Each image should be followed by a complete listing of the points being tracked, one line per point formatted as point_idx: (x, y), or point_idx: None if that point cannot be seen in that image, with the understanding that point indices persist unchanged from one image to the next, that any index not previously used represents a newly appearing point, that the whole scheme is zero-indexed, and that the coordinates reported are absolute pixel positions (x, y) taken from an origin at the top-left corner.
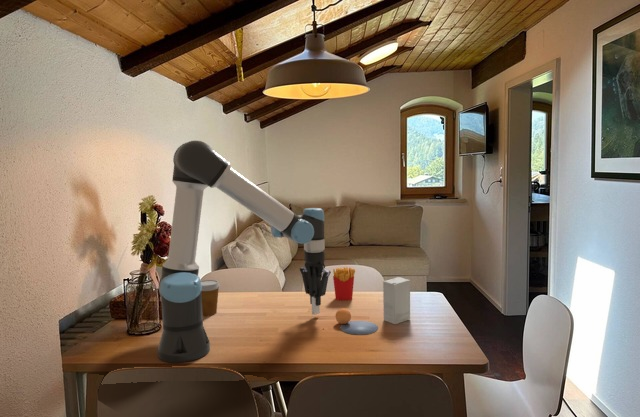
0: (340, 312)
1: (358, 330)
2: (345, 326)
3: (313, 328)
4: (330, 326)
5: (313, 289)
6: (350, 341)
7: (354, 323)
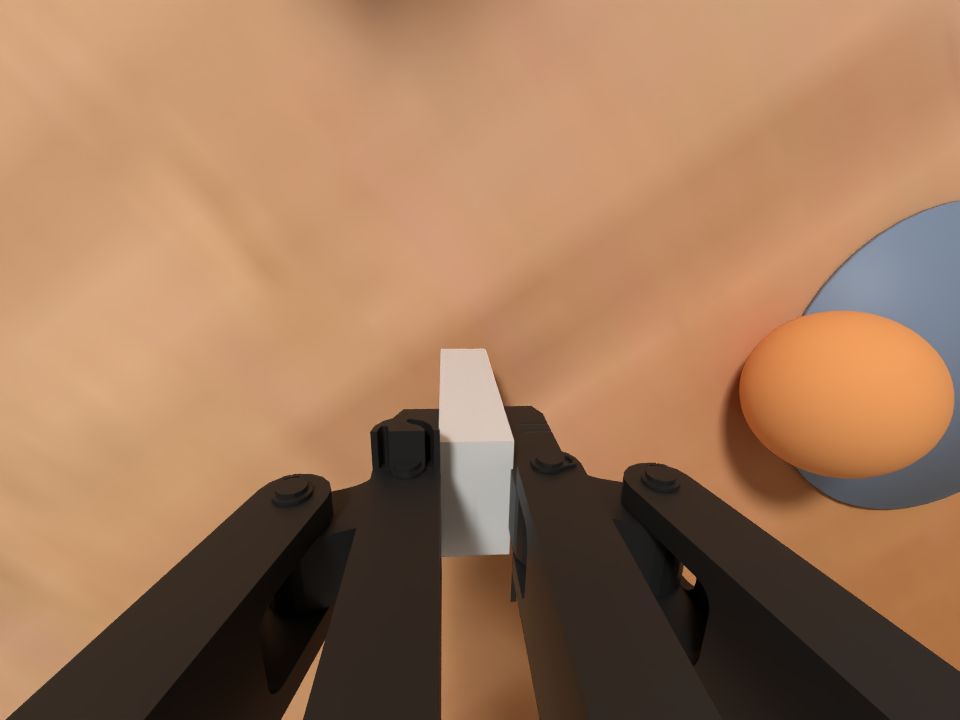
0: (876, 475)
1: (950, 431)
2: None
3: None
4: (702, 472)
5: (440, 613)
6: (936, 592)
7: None
